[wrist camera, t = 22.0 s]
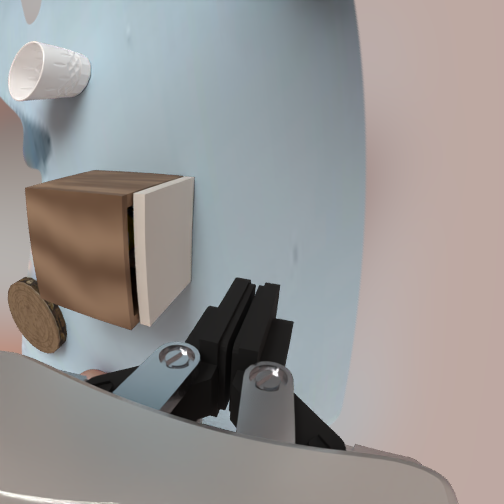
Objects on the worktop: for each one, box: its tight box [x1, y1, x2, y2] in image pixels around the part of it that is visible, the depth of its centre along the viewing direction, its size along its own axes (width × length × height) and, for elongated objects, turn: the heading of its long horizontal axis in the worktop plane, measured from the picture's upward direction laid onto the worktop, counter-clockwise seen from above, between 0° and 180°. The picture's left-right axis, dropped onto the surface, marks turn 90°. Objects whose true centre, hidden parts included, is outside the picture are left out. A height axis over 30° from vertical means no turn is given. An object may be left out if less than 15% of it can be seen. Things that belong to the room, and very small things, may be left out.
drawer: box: [129, 176, 194, 326], centre depth 35 cm, size 14×14×11 cm
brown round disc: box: [8, 277, 67, 353], centre depth 52 cm, size 16×16×3 cm
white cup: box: [8, 41, 91, 101], centre depth 31 cm, size 8×8×10 cm
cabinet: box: [25, 170, 183, 330], centre depth 35 cm, size 14×14×13 cm
